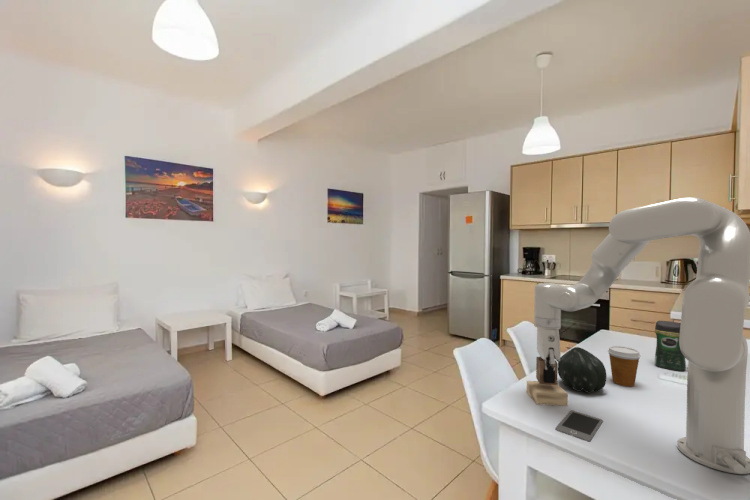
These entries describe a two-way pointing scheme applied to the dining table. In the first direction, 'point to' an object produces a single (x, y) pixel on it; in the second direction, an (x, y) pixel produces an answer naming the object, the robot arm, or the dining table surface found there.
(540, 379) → the walnut block
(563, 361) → the squash
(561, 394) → the oak base block
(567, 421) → the smartphone
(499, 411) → the dining table surface
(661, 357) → the coffee jar
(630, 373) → the disposable coffee cup
